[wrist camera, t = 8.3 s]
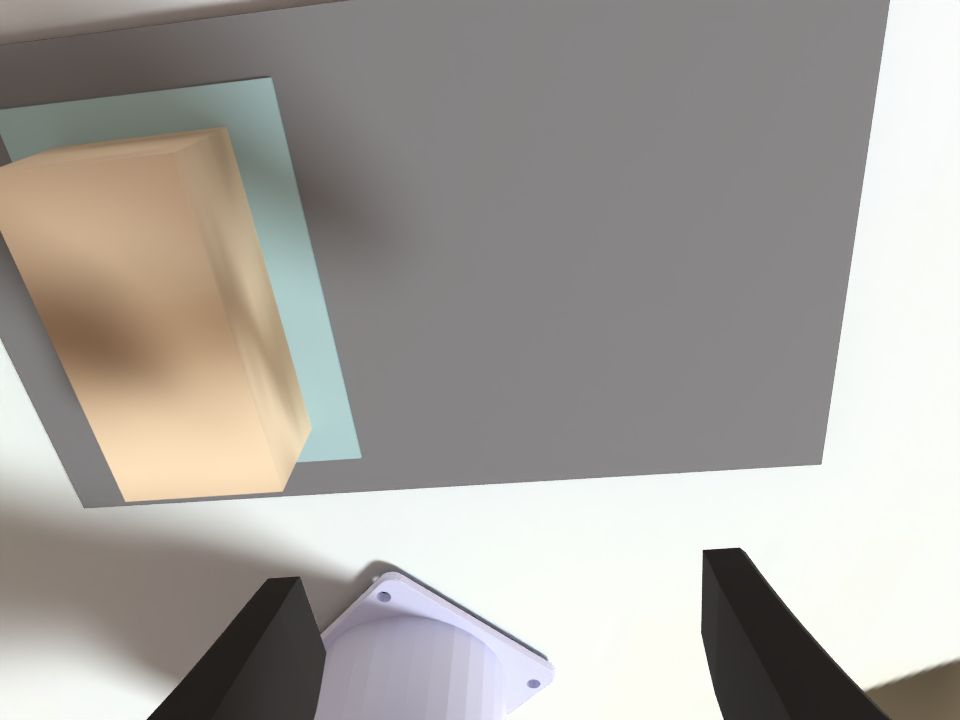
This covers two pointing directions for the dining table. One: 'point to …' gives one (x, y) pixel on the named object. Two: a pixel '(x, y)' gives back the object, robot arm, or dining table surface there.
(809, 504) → the dining table surface
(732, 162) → the mat
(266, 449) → the tan wooden block
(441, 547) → the dining table surface
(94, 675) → the dining table surface
